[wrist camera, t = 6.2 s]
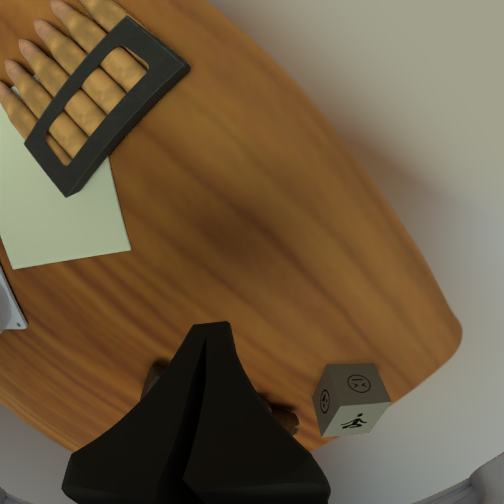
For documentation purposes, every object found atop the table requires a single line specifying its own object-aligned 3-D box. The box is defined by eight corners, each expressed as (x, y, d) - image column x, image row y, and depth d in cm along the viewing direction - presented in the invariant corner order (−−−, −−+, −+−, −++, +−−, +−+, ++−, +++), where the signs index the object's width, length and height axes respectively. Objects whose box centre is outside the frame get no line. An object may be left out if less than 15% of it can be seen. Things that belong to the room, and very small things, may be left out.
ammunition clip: (192, 68, 15) (84, -24, 12) (186, 62, 14) (72, -33, 10) (79, 192, 18) (-5, 90, 14) (65, 199, 16) (-21, 90, 13)
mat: (14, 268, 21) (13, 269, 20) (-26, 111, 15) (-28, 111, 14) (131, 248, 21) (130, 250, 20) (93, 50, 15) (91, 50, 14)
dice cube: (312, 397, 29) (321, 437, 24) (326, 363, 26) (340, 406, 22) (355, 395, 29) (369, 432, 25) (373, 363, 27) (391, 401, 22)
